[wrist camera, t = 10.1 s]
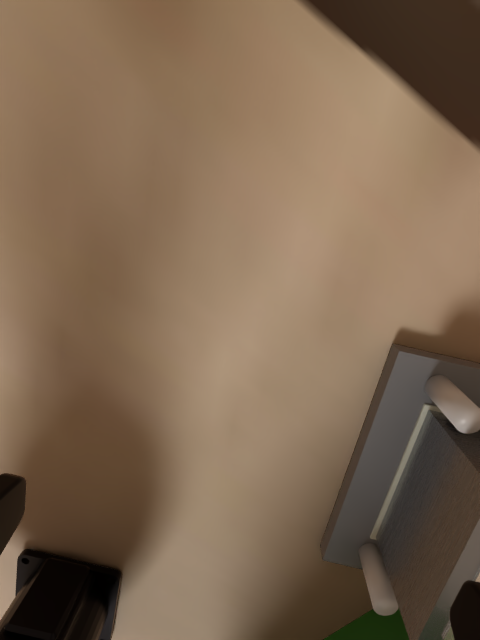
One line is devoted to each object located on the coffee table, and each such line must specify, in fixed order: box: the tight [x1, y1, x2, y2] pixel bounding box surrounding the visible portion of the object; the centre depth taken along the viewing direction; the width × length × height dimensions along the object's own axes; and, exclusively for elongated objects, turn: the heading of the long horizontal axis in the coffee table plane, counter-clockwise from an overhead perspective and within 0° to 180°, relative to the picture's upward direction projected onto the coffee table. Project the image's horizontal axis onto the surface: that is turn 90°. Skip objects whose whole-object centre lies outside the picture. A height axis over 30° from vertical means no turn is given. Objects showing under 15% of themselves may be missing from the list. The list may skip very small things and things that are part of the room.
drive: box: [376, 410, 480, 640], centre depth 17 cm, size 8×4×6 cm, turn 168°
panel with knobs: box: [320, 344, 480, 616], centre depth 19 cm, size 13×9×4 cm
